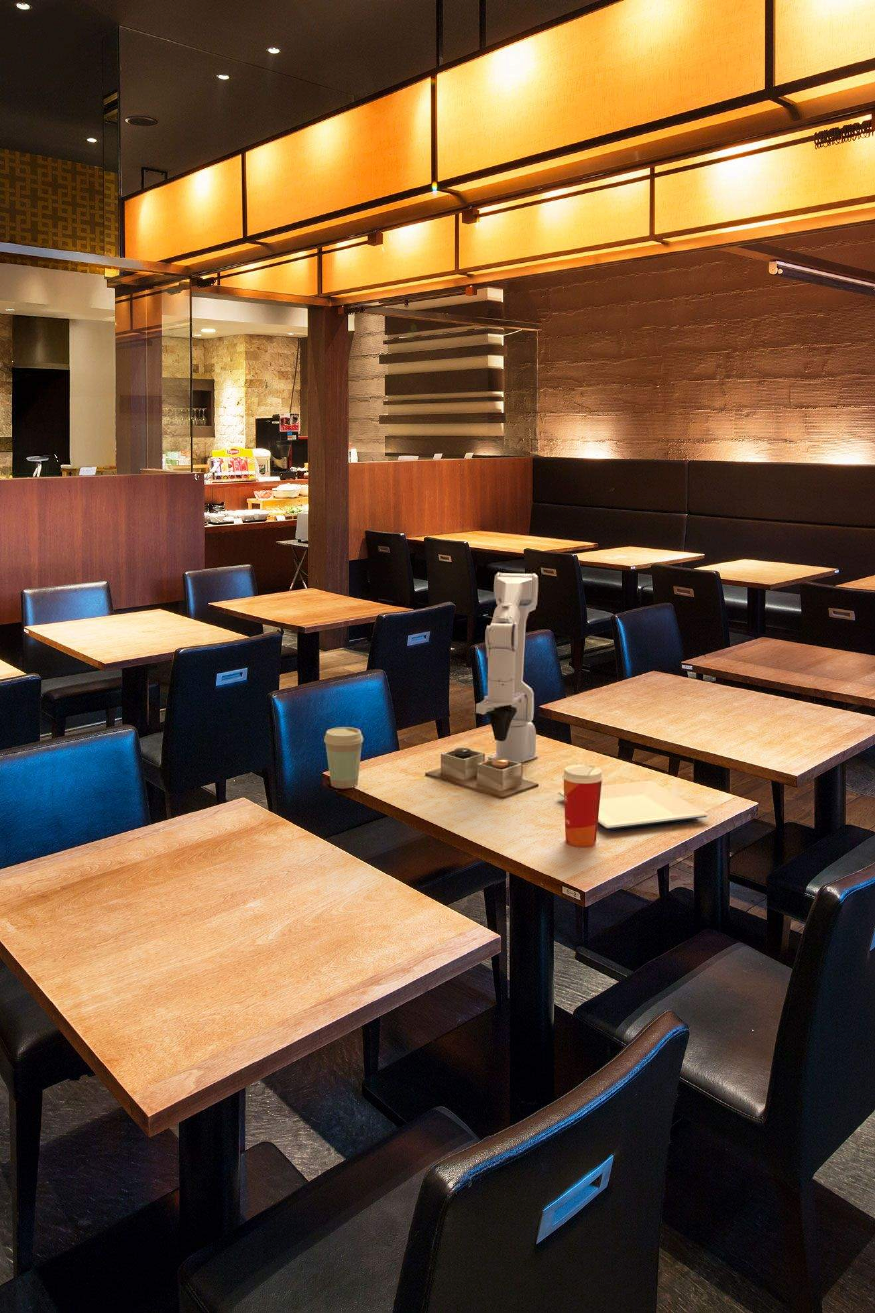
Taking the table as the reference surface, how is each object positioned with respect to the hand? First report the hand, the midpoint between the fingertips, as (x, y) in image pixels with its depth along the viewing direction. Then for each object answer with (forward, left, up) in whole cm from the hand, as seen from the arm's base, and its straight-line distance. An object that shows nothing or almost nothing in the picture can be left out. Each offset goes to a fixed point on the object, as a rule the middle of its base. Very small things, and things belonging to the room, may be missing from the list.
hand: (500, 740), depth 219 cm
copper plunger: (0, 0, -10) cm, 10 cm away
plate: (-7, +29, -11) cm, 32 cm away
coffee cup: (+23, -25, -11) cm, 36 cm away
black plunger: (0, -11, -10) cm, 15 cm away
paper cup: (+14, +32, -11) cm, 37 cm away
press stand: (0, -5, -10) cm, 12 cm away
